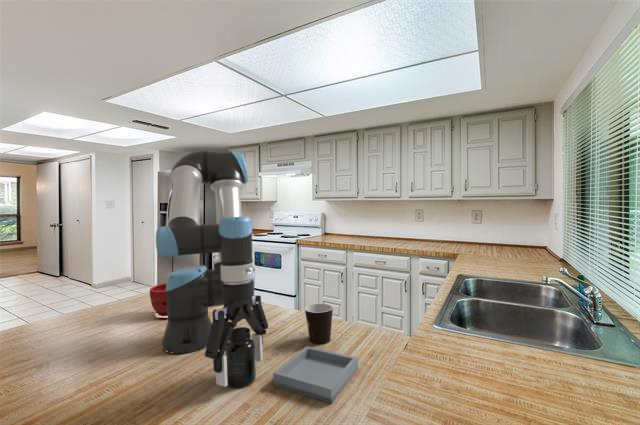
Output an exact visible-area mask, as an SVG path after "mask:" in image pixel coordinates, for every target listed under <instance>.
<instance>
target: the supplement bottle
mask: <svg viewBox="0 0 640 425" xmlns="http://www.w3.org/2000/svg"><path fill="white" fill-rule="evenodd" d="M224 355H225V356H227V382H228V385H227V386H229V387H230V388H234V389H240V388H241V389H242V388H246V387H248V386H250V385H252V384H253V382H255V381H256V374H257V371H256V360H255V344H254V342H253V340H252V338H251V328H249V327H244V326H243V327H242V326H240V327H234V329H233V331H232V334H231V336H230V339H229V342H228V344H227V347H226V350H225V352H224Z"/></svg>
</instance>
